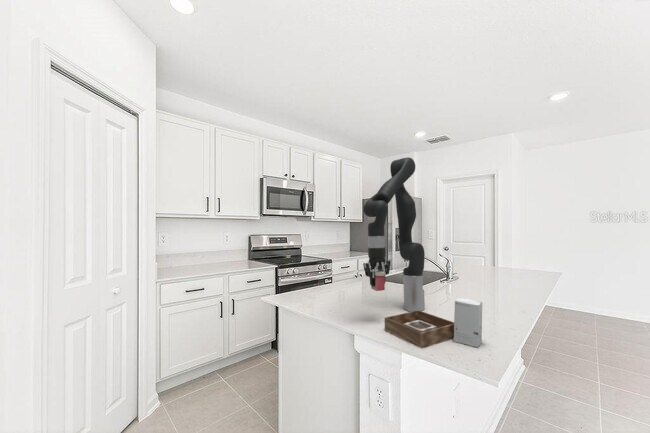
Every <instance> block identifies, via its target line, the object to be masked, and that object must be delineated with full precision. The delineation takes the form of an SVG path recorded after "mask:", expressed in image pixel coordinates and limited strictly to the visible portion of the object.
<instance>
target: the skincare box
mask: <svg viewBox="0 0 650 433" xmlns="http://www.w3.org/2000/svg"><path fill="white" fill-rule="evenodd" d="M453 318H454V321H453V322H454V338H453V341H454V342H455V343H459V344H463V345H467V346H471V347H474V348H479V347H480V346H481V344H482V340H483V339H482V337H483V334H482V333H483V302H482V301H478V300H474V299H468V298H467V299H466V298H461V297H458V298H457V299H455V300H454V317H453Z"/></svg>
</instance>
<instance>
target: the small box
mask: <svg viewBox="0 0 650 433" xmlns="http://www.w3.org/2000/svg"><path fill="white" fill-rule="evenodd" d="M374 278H375V287H373V286H371V285H370V288H371V289H372V290H374V291H376V292H380V291H385V290H386V289H385V288H386V286H385V285H386V277H385V278H384V272H382V271H379V270H377V272H376V273H375V277H374Z"/></svg>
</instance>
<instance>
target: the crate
mask: <svg viewBox="0 0 650 433" xmlns="http://www.w3.org/2000/svg"><path fill="white" fill-rule="evenodd" d="M384 331H386V332H387V333H389V334H392V335H394V336H395V337H398V338H400V339H402V340H404V341H406V342H408V343H410V344H411V345H412V344H413V345H414V346H416V347H419V348H421V349H424V348H427V347H431V346H433V344H434V345H436V344H439V343H443V342H446V341H449V340H452V339H454V321H451V320H448V319H447V318H446V319H445V318H442V317H440V316H436V315H434V314H430V313H428V312H425V311H419V310H416V311H412V312H411V311H408V312H404V313H399V314H396V315H391V316H386V317H384ZM430 345H431V346H430Z"/></svg>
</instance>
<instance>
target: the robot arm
mask: <svg viewBox="0 0 650 433" xmlns="http://www.w3.org/2000/svg"><path fill="white" fill-rule="evenodd" d="M415 172H416V162H415V160H414V159H413V157H412V158H411V157H409V156H408V157H403V158H399V159H395V160H393V161H392V162H391V163H390V175H391V178H389V179H388V180H386V181H385V182H384V183H383V184H382V185H381V187H380V188H379V189H378V191H377V192H376V193H375V194H374V195H372V196H371V197H370V198H369V199H368V200H367V201H366V202H365V203H364V205H363V213H364V215H365V216H366V217H368V218H375V219H374V221H373V222H369V223H368V225H367V236H368V237H367V256H368V262H363V264H362V266H363V269H364V270H363V271H364V273H365V277H368V278H369V285H370V287H371V286H373V287H375V278H374V277H375V273H376V272H377V270H379V271H382V272H384V278H385V279H386V276H387V275H389V274H390V271H391V270H390V268H391V263H392V261H391V260H386V256H387V255H386V253H387V252H386V251H387V250H386V238H385V225H386V220H387V216H388V212H389V211H388V210H389V209H388V204H389V203H390V202H391V201H392V199H393V198H394V197H395V206H396V216H397V217H396V218H397V223H398V235H399V236H398V239H399V240H398V241H399V243H398V246H399V248H398V249H399V254H400V256H401V258H402V259H403V260H406V261H408V266H407V267H404V268H403V270H402V272H403V274H402V275H403V279H402V280H403V282H402V283H403V309H404V310H405V311H408V312H412V311H416V310H419V311H422V312H424V311H425V306H426V305H425V304H426V303H425V290H424V285H423V284H424V282H423V281H424V280H423V279H424V277H423V275H424V274H423V272H424V269H425V248H424V246H423V245H422V243H420V242H414V241H413V239H412V238H413V237H412V229H413V227H414V225H415V222H416V219H417V209H416V202H415V200H414V198H413V197H412V196H411V195H410V193H409V192H408V190H407V189H406V188H405V185H404V184H405V183H406V182H407V181H408V180H409V179H410V177H412V176H413V175H414V173H415Z"/></svg>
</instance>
